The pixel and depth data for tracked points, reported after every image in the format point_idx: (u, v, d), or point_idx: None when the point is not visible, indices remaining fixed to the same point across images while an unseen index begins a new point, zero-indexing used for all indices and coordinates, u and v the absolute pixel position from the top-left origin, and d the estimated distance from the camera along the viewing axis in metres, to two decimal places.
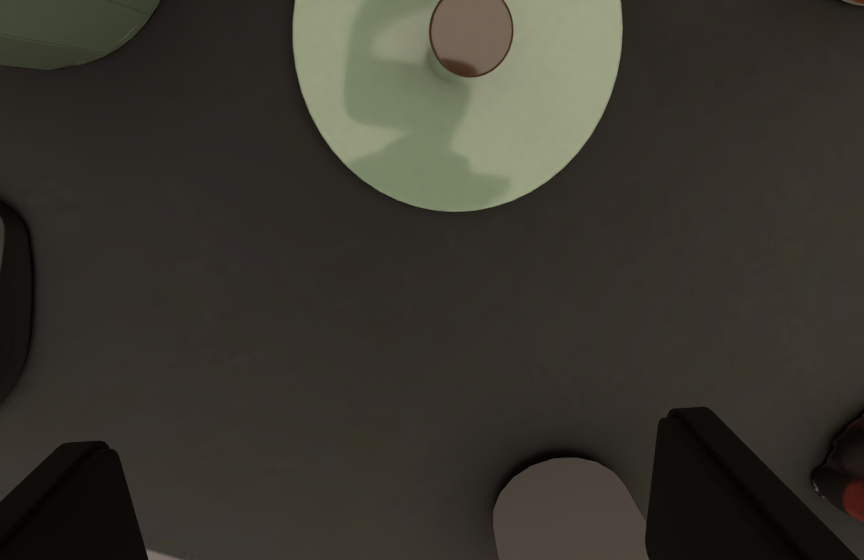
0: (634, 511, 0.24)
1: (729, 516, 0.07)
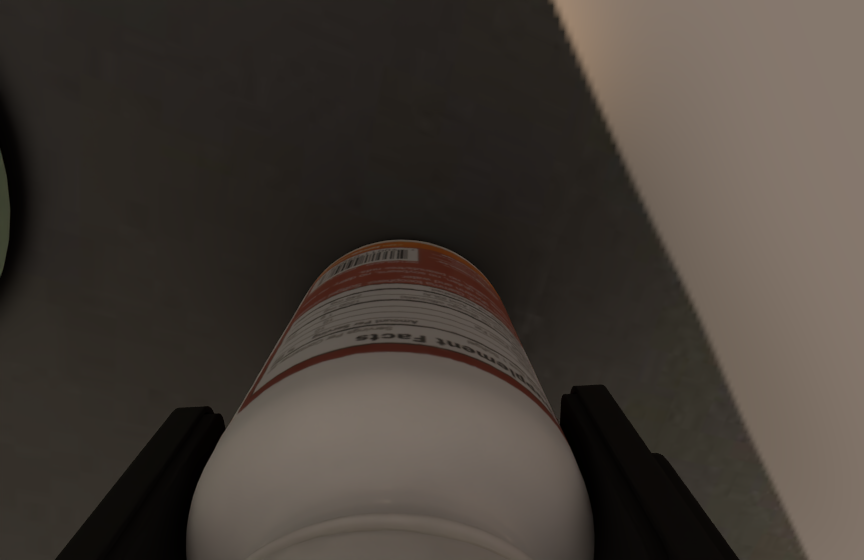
0: None
1: (599, 476, 0.07)
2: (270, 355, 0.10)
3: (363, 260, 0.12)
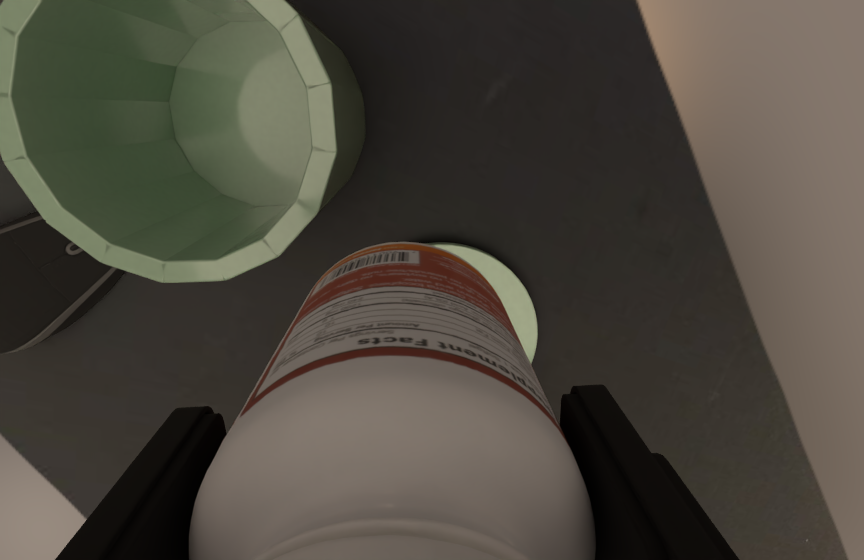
0: None
1: (599, 476, 0.07)
2: (272, 358, 0.10)
3: (364, 262, 0.12)
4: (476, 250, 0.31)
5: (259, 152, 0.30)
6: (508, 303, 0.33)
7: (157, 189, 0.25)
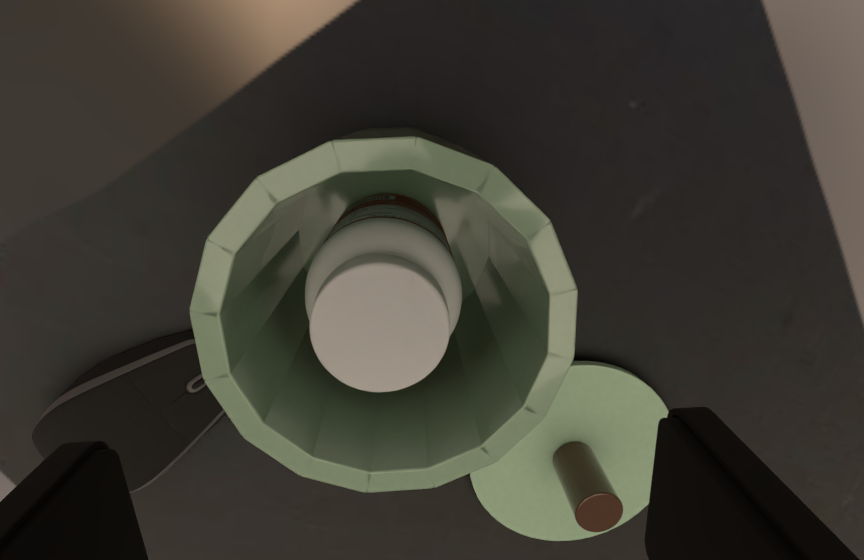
0: None
1: (729, 516, 0.07)
2: None
3: (367, 200, 0.24)
4: (616, 369, 0.29)
5: None
6: (646, 420, 0.31)
7: (310, 344, 0.23)
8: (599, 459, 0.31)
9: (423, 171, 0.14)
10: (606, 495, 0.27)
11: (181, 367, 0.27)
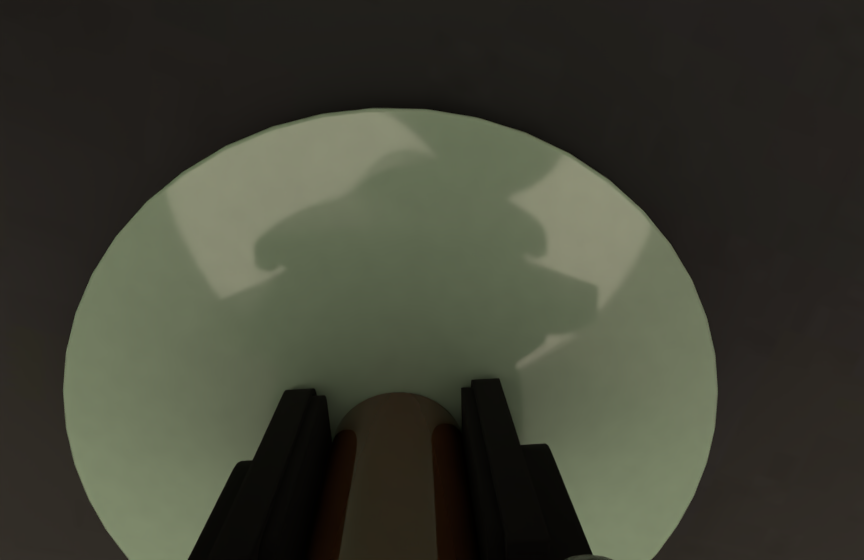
0: None
1: (472, 464, 0.08)
2: None
3: None
4: (518, 132, 0.08)
5: None
6: (627, 326, 0.09)
7: None
8: None
9: None
10: None
11: None
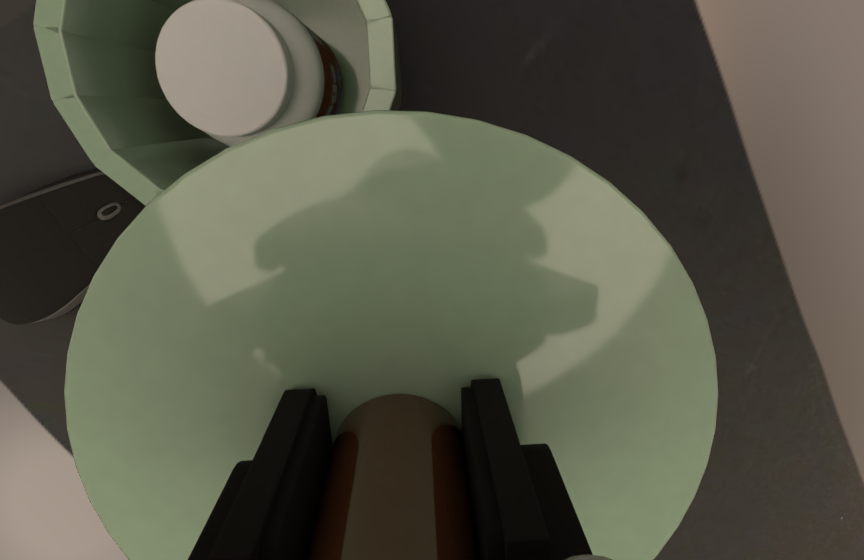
0: None
1: (472, 464, 0.08)
2: None
3: None
4: (519, 135, 0.08)
5: None
6: (628, 328, 0.09)
7: (196, 146, 0.24)
8: None
9: None
10: None
11: (92, 194, 0.29)
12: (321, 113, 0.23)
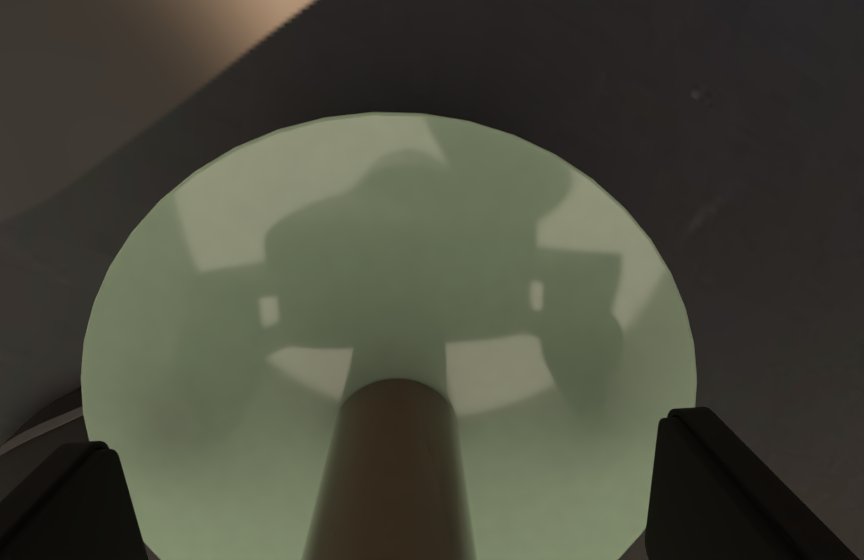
0: None
1: (729, 516, 0.07)
2: None
3: None
4: (507, 135, 0.09)
5: None
6: (611, 316, 0.10)
7: None
8: (475, 434, 0.11)
9: None
10: None
11: None
12: None
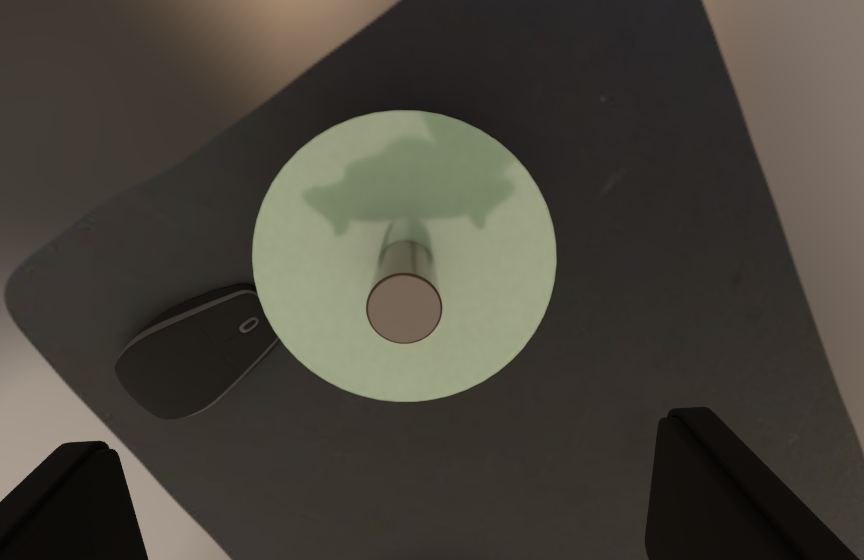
0: None
1: (729, 516, 0.07)
2: None
3: None
4: (457, 120, 0.20)
5: None
6: (510, 209, 0.21)
7: None
8: (445, 272, 0.21)
9: None
10: (410, 278, 0.17)
11: (235, 312, 0.33)
12: None
